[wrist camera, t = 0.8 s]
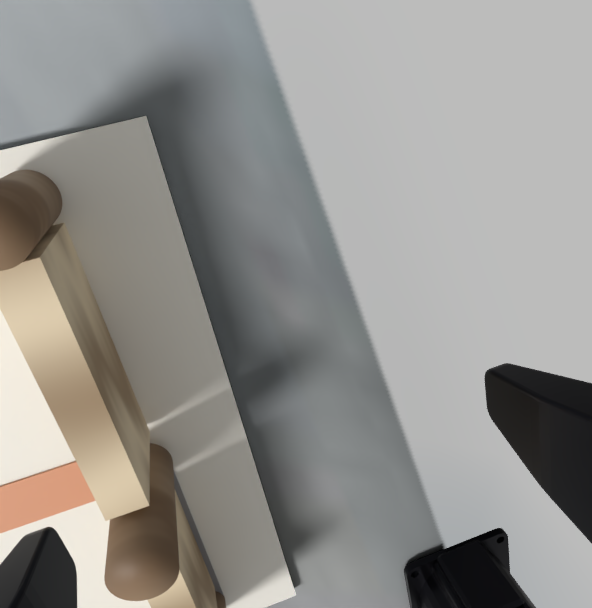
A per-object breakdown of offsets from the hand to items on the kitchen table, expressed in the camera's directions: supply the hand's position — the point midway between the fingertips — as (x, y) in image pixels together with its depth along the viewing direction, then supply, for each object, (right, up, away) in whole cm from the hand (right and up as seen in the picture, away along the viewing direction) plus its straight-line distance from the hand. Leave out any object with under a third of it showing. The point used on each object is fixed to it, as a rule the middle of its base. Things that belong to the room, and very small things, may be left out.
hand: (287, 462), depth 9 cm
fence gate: (-8, +1, +11) cm, 13 cm away
